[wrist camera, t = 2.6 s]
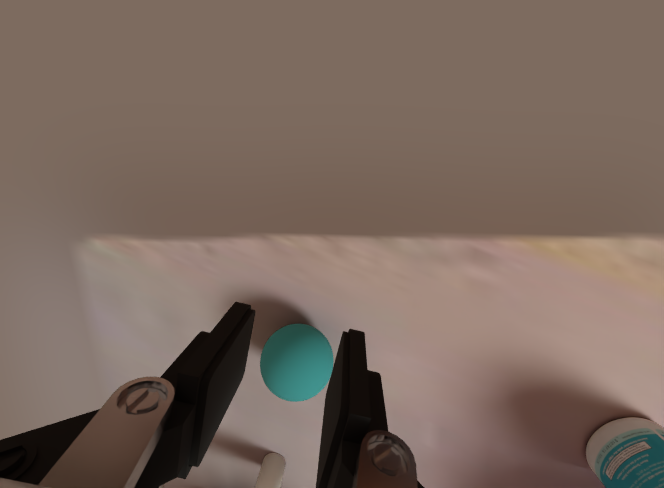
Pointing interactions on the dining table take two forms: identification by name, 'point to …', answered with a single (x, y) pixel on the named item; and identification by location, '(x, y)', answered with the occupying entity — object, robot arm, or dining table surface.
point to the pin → (271, 471)
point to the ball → (296, 362)
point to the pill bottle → (628, 454)
